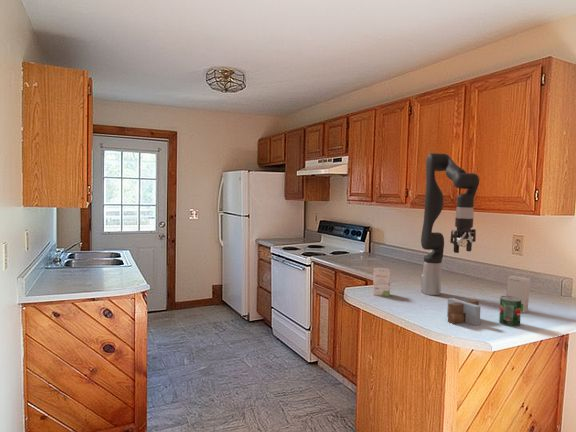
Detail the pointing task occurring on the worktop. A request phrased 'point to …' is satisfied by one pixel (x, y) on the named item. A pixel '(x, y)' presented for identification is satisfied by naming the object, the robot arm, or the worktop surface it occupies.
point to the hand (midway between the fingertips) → (462, 252)
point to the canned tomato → (510, 311)
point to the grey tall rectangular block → (468, 311)
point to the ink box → (381, 282)
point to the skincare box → (519, 290)
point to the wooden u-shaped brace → (458, 311)
